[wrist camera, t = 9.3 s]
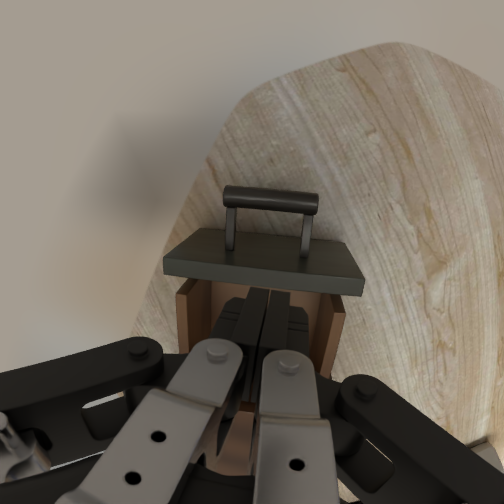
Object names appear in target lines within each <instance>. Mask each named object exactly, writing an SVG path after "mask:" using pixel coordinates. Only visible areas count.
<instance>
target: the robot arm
mask: <svg viewBox="0 0 504 504" xmlns="http://www.w3.org/2000/svg"><path fill="white" fill-rule="evenodd" d="M269 292H270V289H264V288H258V287H251V286H250V289H249V291H248V294H247V297H246V299H245V298H239V297H233V298H232V299H230V300H229V301H227V302H225V304H224V307H223V309H222V312H221V313H220V315H219V317H218V319H217V321H216V323H215V325H214V327H213V329H212V331H211V333H210V335H209V337H208V339H206V340H203V341H200V342H199V343H197V344H196V345H195V346H194V347H193V349H192V350H191V352H190V353H185V354H163V349H162V346H161V345H160V344H159V343H158V342H157V341H155V340H153V339H151V338H147V337H131V338H127V339H124V340H120V341H117V342H114V343H110V344H107V345H104V346H100V347H97V348H93V349H90V350H86V351H83V352H79V353H76V354H72V355H68V356H65V357H61V358H58V359H54V360H50V361H46V362H42V363H38V364H35V365H31V366H27V367H23V368H19V369H14V370H10V371H6V372H2V373H0V504H349V503H348V502H346V501H344V500H343V499H341V498H339V490H338V480H337V478H338V479H339V480H340V481H341V482H342V483H343V484H344V485H345V486H346V487H347V488H348V489H349V490H350V491H351V492H352V493H353V494H354V495H355V496H356V497H357V498H358V499H359V500H360V501H361V502H362V503H364V504H504V473H502V472H501V471H499V470H498V469H497V468H495V467H494V466H492V465H491V464H490V463H488V462H487V461H486V460H484V459H483V458H481V457H480V456H479V455H477V454H476V453H475V452H473V451H472V450H471V449H469V448H468V447H467V446H465V445H464V444H463V443H461V442H460V441H459V440H457V439H456V438H455V437H453V436H452V435H451V434H449V433H448V432H447V431H445V430H444V429H443V428H441V427H440V426H439V425H437V424H436V423H435V422H433V421H432V420H431V419H429V418H428V417H427V416H425V415H424V414H423V413H422V412H420V411H419V410H418V409H416V408H415V407H414V406H412V405H411V404H410V403H409V402H407V401H406V400H405V399H403V398H402V397H401V396H399V395H398V394H397V393H396V392H394V391H393V390H392V389H390V388H389V387H388V386H387V385H385V384H384V383H383V382H381V381H380V380H379V379H377V378H375V377H372V376H369V375H364V374H357V375H351V376H349V377H347V378H346V379H344V380H343V382H342V383H339V382H336V381H333V380H330V379H328V378H325V377H323V376H322V375H320V374H319V373H317V372H316V371H315V370H314V366H313V363H312V361H311V360H310V359H309V315H308V314H307V313H306V311H305V310H304V308H303V307H297V306H290V293H291V292H284V291H278V290H271V293H270V298H269ZM268 299H269V303H268ZM267 306H268V307H267ZM254 374H255V375H254ZM253 379H254V382H253ZM252 383H253V389H252V395H251V401H250V402H254V403H256V406H255V411H254V417H253V422H252V431H251V441H250V450H249V459H248V468H247V475H237V476H227V475H222V474H219V473H217V472H216V471H217V467H218V464H219V461H220V458H221V456H222V453H223V451H224V448H225V446H226V443H227V440H228V438H229V435H230V433H231V430H232V427H233V425H234V422H235V419H236V414H237V412H238V410H239V407H240V403H241V400H242V401H247V402H248V401H249V396H250V392H251V388H252ZM122 391H123V394H124V396H122V397H120V398H117V399H114V400H111V401H108V402H105V403H102V404H99V405H96V406H93V407H90V408H82V407H83V406H84V405H85V404H87V403H89V402H92V401H95V400H98V399H101V398H104V397H107V396H110V395H113V394H116V393H119V392H122ZM366 439H368V440H369V441H370V442H371V443H372V444H373V445H374V446H375V447H376V448H378V449H379V450H380V451H381V452H382V453H383V454H384V455H385V456H387V457H388V458H389V459H390V460H391V461H392V462H391V461H390V460H388V459H387V458H386V457H385V456H384V455H383V454H382V453H380V452H379V451H378V450H377V449H376V448H375V447H374V446H373V445H372V444H370V443H369V442H368V441H367V440H366ZM104 450H105V452H104V453H102V454H98V455H94V456H91V457H88V458H85V459H82V460H80V461H77V462H74V463H71V464H68V465H65V466H62V467H59V468H56V469H53V470H50V468H51V467H53V466H57V465H60V464H63V463H67V462H70V461H73V460H77V459H80V458H83V457H86V456H89V455H92V454H95V453H98V452H101V451H104Z"/></svg>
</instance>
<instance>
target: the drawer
mask: <svg viewBox="0 0 504 504" xmlns="http://www.w3.org/2000/svg"><path fill="white" fill-rule="evenodd" d="M318 202H319V195H318V194H317V193H309V192H299V191H289V190H279V189H268V188H256V187H243V186H228V185H227V186H225V188H224V192H223V205H224V206H225V207H227V211H226V231H224V230H213V229H202V228H199V229H198V230H197V231H195V232H194V233H193V234H192V235H190V236H189V237H188V238H186V239H185V240H184V241H183V242H181V243H180V244H179V245H178V246H176V247H175V248H174V249H173V250H171V251H170V252H169V253H168V254H166V255H165V256H164V257H163V272H164V275H171V276H179V277H186V278H188V279H187V280H186V282H185V283H184V284H183V285H182V286H181V288H180V289H179V290H178V291H177V292H176V313H177V329H178V343H179V354H185V353H190V352H191V350H192V349H193V347H194V346H195V345H196V344H197V343H199V342H200V341H203V340H206V339H208V337H209V335H210V333H211V331H212V329H213V327H214V325H215V323H216V321H217V319H218V317H219V315H220V313H221V312H222V309H223V307H224V304H225V302H227V301H229V300H230V299H232V298H233V297H239V298H245V299H246V297H247V294H248V291H249V289H250V286H251V287H258V288H264V289H270V292H269V298H270V293H271V290H278V291H284V292H291V293H290V306H297V307H303V308H304V310H305V311H306V313H307V314H308V315H309V359H310V360H311V361H312V363H313V366H314V370H315V371H316V372H317V373H319V374H320V375H322V376H323V377H325V378H328V379H329V377H330V373H331V370H332V366H333V363H334V359H335V356H336V352H337V348H338V344H339V341H340V337H341V333H342V329H343V325H344V320H345V316H346V312H345V309H344V305H343V302H342V299H341V295H348V296H360V297H361V296H362V293H363V288H364V284H365V278H364V276H363V274H362V272H361V270H360V269H359V267H358V265H357V263H356V262H355V260H354V258H353V256H352V255H351V253H350V251H349V249H348V248H347V246H346V244H345V243H341V242H332V241H323V240H314V239H311V232H312V223H313V215H316V214H317V211H318ZM237 208H248V209H259V210H270V211H281V212H291V213H300V214H304V216H303V225H302V234H301V238H295V237H285V236H275V235H265V234H255V233H245V232H236V217H237ZM268 303H269V299H268ZM267 307H268V306H267ZM254 375H255V374H254ZM253 382H254V379H253ZM252 389H253V383H252V388H251V392H250V396H249V401H248V402H247V401H242V400H241V403H240V404H243V405H250V406H256V403H254V402H250V401H251V395H252Z"/></svg>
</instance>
